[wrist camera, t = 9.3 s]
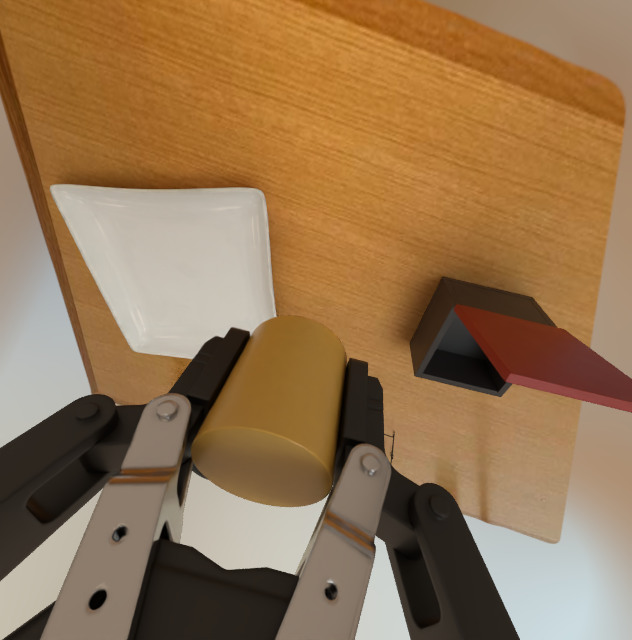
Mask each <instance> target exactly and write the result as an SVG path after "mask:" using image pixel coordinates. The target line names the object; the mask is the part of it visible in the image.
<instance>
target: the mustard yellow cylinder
mask: <svg viewBox="0 0 632 640" xmlns="http://www.w3.org/2000/svg"><path fill="white" fill-rule="evenodd" d="M346 364H347V357H346V352H345V349H344V347H343V345H342V343H341V341H340V340H339V338H338V337H337V336H336V335H335V334H334V333H333V332H332V331H331V330H330V329H328V328H327V327H325V326H324V325H322V324H320V323H318V322H317V321H314V320H311V319H309V318H305V317H300V316H290V315H288V316H279V317H274V318H271V319H269V320H267V321H264V322H263V323H261V324H260V325H259V326H258V327H257V328H256V329H255V330H254V331H253V333H252V334H251V336H250V338H249V340H248V342H247V344H246V345H245V347H244V349H243V351H242V353H241V355H240V356H239V358H238V360H237V362H236V364H235V365H234V367H233V369H232V371H231V373H230V375H229V376H228V378H227V380H226V382H225V384H224V386H223V387H222V389H221V391H220V393H219V395H218V397H217V398H216V400H215V402H214V404H213V406H212V407H211V409H210V411H209V413H208V415H207V417H206V418H205V420H204V422H203V424H202V426H201V428H200V429H199V431H198V433H197V435H196V437H195V438H194V440H193V442H192V445H191V457H192V460H193V462H194V464H195V466H196V467H197V469H198V470H199V471H200V472H201V473H202V474H203V475H204V476H205V477H206V478H207V479H208V480H210V481H211V482H212V483H214V484H215V485H217V486H218V487H220V488H222V489H224V490H225V491H227V492H229V493H232V494H234V495H236V496H238V497H241V498H243V499H247V500H250V501H253V502H257V503H261V504H266V505H271V506H280V507H299V506H306V505H311V504H314V503H317V502H319V501H321V500H322V499H324V498H325V497H326V496H327V495H328V494H329V493H330V491H331V489H332V486H333V479H334V471H335V462H336V453H337V444H338V435H339V426H340V418H341V409H342V400H343V391H344V382H345V373H346Z"/></svg>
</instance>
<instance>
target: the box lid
mask: <svg viewBox="0 0 632 640" xmlns="http://www.w3.org/2000/svg"><path fill="white" fill-rule="evenodd" d="M454 311H455V313H456V314H457V316H458V317H459V318H460V320H461V321H462V323H463V324H464V325H465V327H466V328H467V329H468V331H469V332H470V334H471V335H472V336H473V338H474V339H475V341H476V342H477V343H478V345H479V346H480V348H481V349H482V350H483V352H484V353H485V355H486V356H487V357H488V359H489V360H490V361H491V363H492V364H493V366H494V367H495V368H496V370H497V371H498V373H499V374H500V375H501V377H502V378H503V380H504V381H505V382H508V383H512V384H517V385H521V386H525V387H529V388H533V389H537V390H541V391H545V392H549V393H554V394H558V395H562V396H566V397H570V398H574V399H578V400H582V401H586V402H591V403H595V404H599V405H603V406H607V407H611V408H615V409H619V410H623V411H628V412H632V379H631V378H630V377H628V376H627V375H625V374H624V373H623V372H621V371H620V370H618V369H617V368H616V367H615V366H613V365H612V364H610V363H609V362H608V361H606V360H605V359H604V358H602V357H601V356H600V355H598V354H597V353H596V352H594V351H593V350H591V349H590V348H589V347H587V346H586V345H585V344H583V343H582V342H581V341H579V340H578V339H577V338H575V337H574V336H572V335H571V334H570V333H568V332H567V331H566V330H564V329H561V328H557V327H552V326H548V325H544V324H540V323H536V322H531V321H527V320H523V319H519V318H514V317H510V316H506V315H502V314H498V313H493V312H489V311H485V310H481V309H477V308H472V307H468V306H464V305H460V304H456V306H455V308H454Z"/></svg>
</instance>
